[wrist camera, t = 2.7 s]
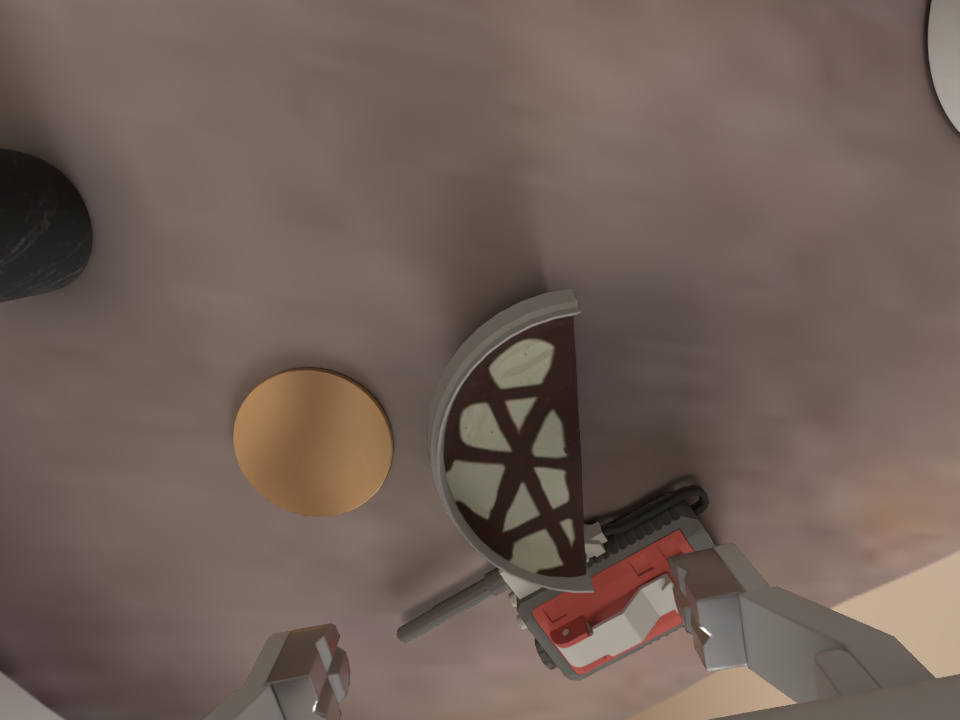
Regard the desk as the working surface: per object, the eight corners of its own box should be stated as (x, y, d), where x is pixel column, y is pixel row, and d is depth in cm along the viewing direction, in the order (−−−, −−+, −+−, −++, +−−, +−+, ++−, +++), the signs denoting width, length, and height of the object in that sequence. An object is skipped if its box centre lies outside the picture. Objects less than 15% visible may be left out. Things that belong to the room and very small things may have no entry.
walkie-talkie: (674, 445, 30) (391, 608, 33) (706, 483, 25) (377, 666, 29) (744, 557, 32) (470, 701, 35) (784, 610, 27) (468, 769, 30)
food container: (430, 280, 27) (399, 312, 18) (547, 268, 27) (580, 295, 18) (455, 490, 31) (441, 615, 21) (560, 482, 30) (594, 604, 21)
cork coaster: (368, 351, 29) (366, 353, 28) (411, 496, 31) (409, 500, 30) (214, 386, 29) (209, 389, 29) (266, 525, 31) (263, 530, 31)
